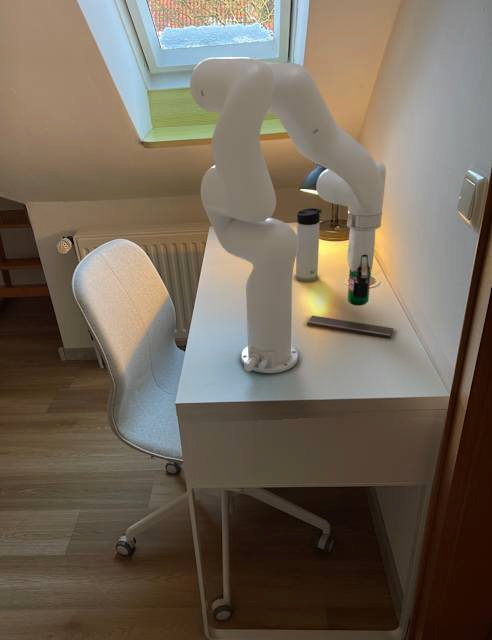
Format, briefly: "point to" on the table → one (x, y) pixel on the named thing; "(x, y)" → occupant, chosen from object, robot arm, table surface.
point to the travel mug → (307, 244)
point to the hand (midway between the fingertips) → (358, 291)
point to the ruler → (350, 327)
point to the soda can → (351, 286)
